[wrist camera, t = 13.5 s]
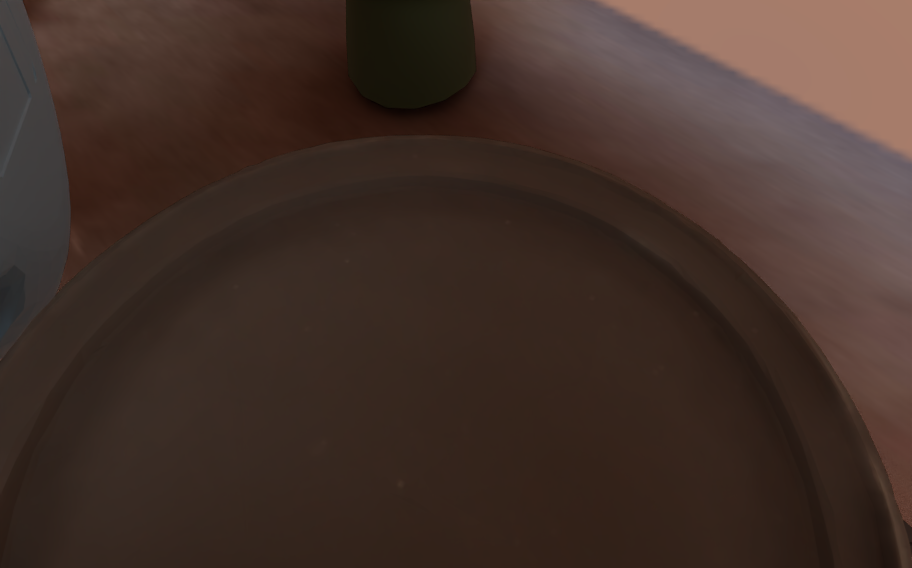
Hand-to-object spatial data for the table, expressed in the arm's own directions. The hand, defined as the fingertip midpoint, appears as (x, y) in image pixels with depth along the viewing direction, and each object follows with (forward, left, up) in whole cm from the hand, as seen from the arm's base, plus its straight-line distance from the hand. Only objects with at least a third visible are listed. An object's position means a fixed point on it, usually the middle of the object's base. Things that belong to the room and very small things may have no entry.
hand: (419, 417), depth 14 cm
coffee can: (0, -3, -7) cm, 8 cm away
